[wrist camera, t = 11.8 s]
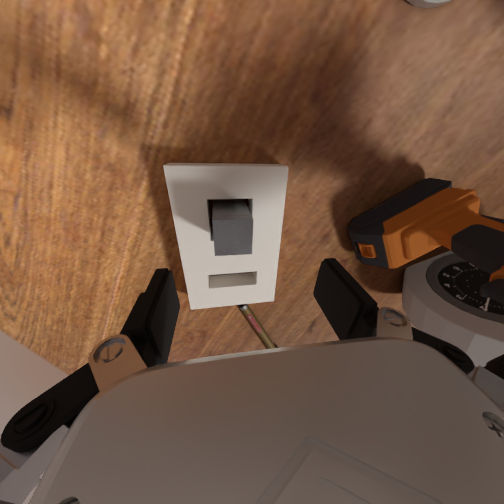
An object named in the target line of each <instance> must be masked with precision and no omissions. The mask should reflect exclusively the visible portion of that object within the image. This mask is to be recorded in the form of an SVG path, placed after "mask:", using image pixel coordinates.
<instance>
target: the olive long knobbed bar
mask: <svg viewBox="0 0 504 504" xmlns="http://www.w3.org/2000/svg"><path fill="white" fill-rule="evenodd" d="M238 307H239V309H240V310H241V311H242V312H243V314H244V315H245V317H246V318H247V319H248V321H249V322H250V324H251V325H252V326H253V328H254V329H255V331H256V332H257V334H258V335H259V336H260V338H261V339H262V341H263V342H264V343H265V345H266V346H267V348H268V349H273V348H276V347H275V345H274V344H273V342H272V341H271V339H270V338H269V336H268V335H267V333H266V332H265V330H264V329H263V327H262V326H261V324H260V323H259V321H258V320H257V318H256V317H255V315H254V314H253V312H252V311H251V309H250V308H249V306H248V304H245V305H244V306H242V305H241V304H240V305H238Z"/></svg>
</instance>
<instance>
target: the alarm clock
mask: <svg viewBox="0 0 504 504" xmlns="http://www.w3.org/2000/svg"><path fill="white" fill-rule="evenodd" d="M490 275H491V274H489V273H487V272H485V271H483V270H481V269H479V268H477V267H475V266H473V265H472V264H470V263H469V262H467V261H465V260H464V259H462V258H461V257H459V256H458V255H456V254H455V253H453V252H452V251H451V250H450V251H448V252H445V253H443V254H440V255H437V256H435V257H432V258H430V259H427V260H424V261H422V262H419V263H417V264H414V265H411V266H409V267H407V268H406V270H405V273H404V281H403V289H402V305H403V309H404V311H405V313H406V315H407V317H408V319H409V320H410V321H411V323H412V324H413V325H414V326H415V327H416V328H417V329H418V330H420V331H423V332H425V333H427V334H430V335H432V336H434V337H437V338H439V339H441V340H444V341H446V342H448V343H451V344H452V345H454V346H456V347H458V348H459V349H461V350H462V351H464V352H465V353H466V354H467V355H468V356H469V357H470V358H471V360H472V361H473V363H474V365H477V366H479V365H480V366H482V367H484V366H486V363H487V362H488V361H490V360H492V359H494V358H496V357H499V356H501V355H503V354H504V305H503V304H501V303H499V302H498V301H496V300H493V299H490V298H487V297H482V296H480V288H481V285H483V284H486V283H488V282H489V281H490Z"/></svg>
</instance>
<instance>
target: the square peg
mask: <svg viewBox="0 0 504 504" xmlns="http://www.w3.org/2000/svg"><path fill="white" fill-rule="evenodd" d="M212 224H213V237H214V251H215V256H227V255H246V254H252V242H253V217H252V215H251V213H250V211H249V209H248V207H247V205H246V203H245V201H244V199H213V216H212Z"/></svg>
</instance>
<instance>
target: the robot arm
mask: <svg viewBox="0 0 504 504" xmlns="http://www.w3.org/2000/svg"><path fill="white" fill-rule="evenodd" d="M406 1H408V2H409V3H411V4H412V5H414V6H417V7H421V8H435V7H438V6H441V5H443V4H446V3H448V2H450V1H451V0H406ZM314 297H315V299H316V301H317V302H318V304H319V306H320V307H321V309H322V311H323V312H324V314H325V316H326V317H327V319H328V321H329V323H330V324H331V326H332V328H333V329H334V331H335V333H336V334H337V336H338V338H339V339H340V340H338V341H330V342H321V343H313V344H305V345H297V346H289V347H281V348H273V349H265V350H257V351H249V352H241V353H234V354H226V355H219V356H211V357H204V358H197V359H190V360H183V361H177V362H171V363H167V360H168V356H169V352H170V348H171V343H172V339H173V335H174V330H175V326H176V322H177V318H178V313H179V309H180V303H179V299H178V295H177V291H176V286H175V282H174V278H173V274H172V271H171V270H170V271H169V270H168V269H167V268H162V269H156V271H155V273H154V275H153V277H152V279H151V281H150V283H149V285H148V287H147V289H146V291H145V292H144V293H141V294H140V295H139V297H138V299H137V301H136V303H135V305H134V307H133V309H132V311H131V313H130V315H129V316H128V318H127V320H126V322H125V324H124V326H123V328H122V330H121V332H120V334H118V335H113V336H110V337H108V338H106V339H104V340H102V341H101V342H100V343H98V344H97V345H96V346H95V347H94V348H93V350H92V351H91V353H90V355H89V358H88V360H89V362H88V363H87V364H86V365H84V366H83V367H81V368H80V369H78V370H77V371H75V372H74V373H72V374H71V375H69V376H68V377H66V378H65V379H63V380H62V381H60V382H59V383H57V384H56V385H54V386H53V387H52V388H50V389H49V390H47V391H46V392H44V393H43V394H41V395H40V396H38V397H37V398H35V399H34V400H32V401H31V402H29V403H28V404H27V405H25V406H24V407H23V408H21V409H20V410H19V411H18V412H17V413H16V414H15V415H14V416H13V417H12V419H11V420H10V421H9V422H8V424H7V425H6V426H5V429H4V431H3V433H2V435H1V439H0V504H22V503H23V502H24V500H25V499H26V497H27V496H28V495H29V493H30V492H31V491H32V490H33V488H34V487H35V486H36V485H37V484H38V483H39V484H38V486H37V488H36V490H35V492H34V494H33V496H32V498H31V500H30V502H29V503H28V504H504V380H503V379H502V378H500V377H498V376H497V375H495V374H493V373H492V372H490V371H488V370H487V369H485V368H483V367H482V366H480V365H479V366H478V367H476V366H474V363H473V361H472V360H471V358H470V357H469V356H468V355H467V354H466V353H465V352H464V351H462V350H461V349H459V348H458V347H456V346H454V345H452V344H451V343H448V342H446V341H444V340H441V339H439V338H437V337H434V336H432V335H430V334H427V333H425V332H423V331H420V330H418V329H416V328H413V327H411V323H410V320H409V319H408V318H407V317H406V316H405V315H404V314H403V313H401V312H400V311H398V310H396V309H393V308H390V307H381V308H380V309H379V308H378V307H377V303H376V301H375V300H374V299H373V298H372V297H371V296H370V295H369V294H368V293H367V292H366V291H365V290H364V289H363V288H362V287H361V286H360V285H359V283H358V282H357V281H356V280H355V279H354V278H353V277H352V276H351V275H350V274H349V273H348V272H347V271H346V270H345V269H344V268H343V266H342V265H341V264H340V263H339V262H338V261H337V260H336V259H335V258H328V259H324V261H322V262H321V266H320V269H319V273H318V277H317V281H316V284H315V288H314ZM45 470H46V471H45ZM44 471H45V473H44V474H43V476H42V478H41V479H40V478H39V477H40V475H41V474H42V473H43V472H44ZM39 481H40V482H39ZM78 500H79V501H78Z"/></svg>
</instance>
